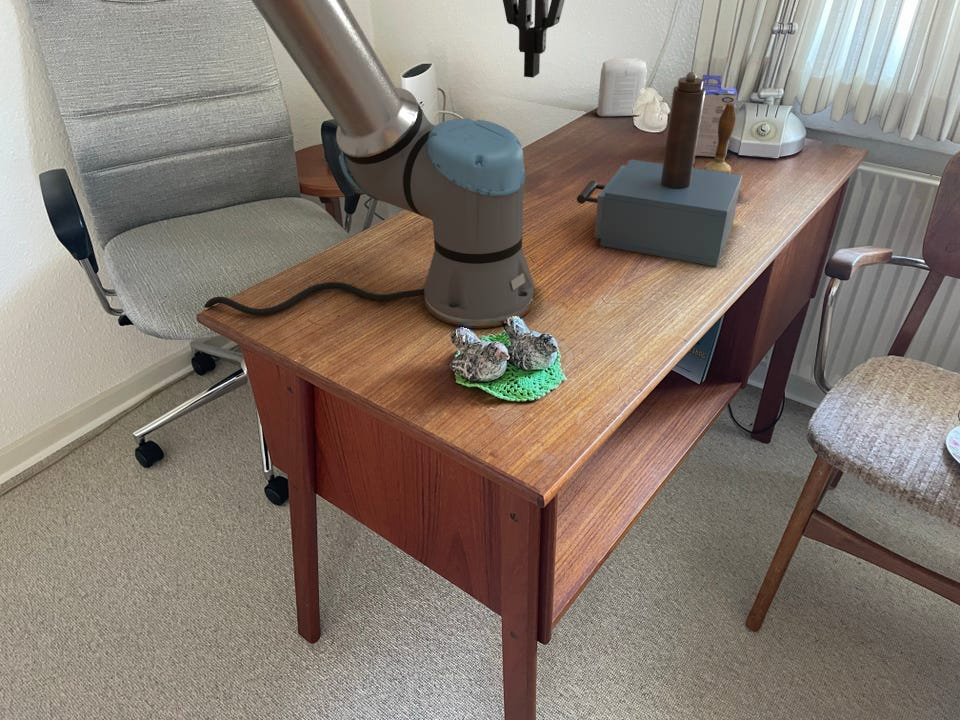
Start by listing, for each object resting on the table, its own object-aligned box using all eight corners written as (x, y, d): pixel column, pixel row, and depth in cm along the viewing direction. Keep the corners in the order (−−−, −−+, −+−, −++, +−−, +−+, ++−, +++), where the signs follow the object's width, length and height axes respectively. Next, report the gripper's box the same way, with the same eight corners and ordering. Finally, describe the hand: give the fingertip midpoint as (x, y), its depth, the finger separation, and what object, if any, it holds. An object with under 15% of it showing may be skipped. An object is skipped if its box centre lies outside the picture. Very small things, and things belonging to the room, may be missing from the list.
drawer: (568, 232, 115) (570, 191, 111) (593, 200, 125) (596, 161, 121) (701, 256, 108) (709, 213, 104) (717, 220, 118) (725, 179, 114)
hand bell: (711, 183, 133) (727, 93, 124) (747, 198, 127) (766, 105, 118) (678, 193, 129) (692, 102, 120) (713, 209, 124) (731, 114, 114)
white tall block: (639, 111, 168) (645, 54, 161) (643, 116, 165) (650, 59, 158) (595, 112, 168) (599, 56, 161) (598, 118, 165) (603, 61, 157)
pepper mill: (669, 190, 108) (685, 77, 99) (655, 179, 112) (670, 69, 102) (695, 187, 109) (714, 74, 100) (681, 176, 113) (698, 66, 103)
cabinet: (600, 245, 113) (604, 192, 108) (625, 209, 124) (630, 159, 119) (716, 266, 107) (727, 211, 102) (732, 226, 118) (742, 174, 113)
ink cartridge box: (725, 148, 147) (739, 74, 139) (727, 158, 143) (741, 82, 134) (675, 146, 149) (685, 72, 140) (675, 155, 145) (686, 80, 136)
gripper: (480, -106, 97) (483, 77, 111) (573, -105, 93) (563, 85, 106) (502, -110, 103) (502, 65, 116) (590, -109, 98) (579, 72, 112)
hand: (531, 74), depth 111 cm, fingers closed
